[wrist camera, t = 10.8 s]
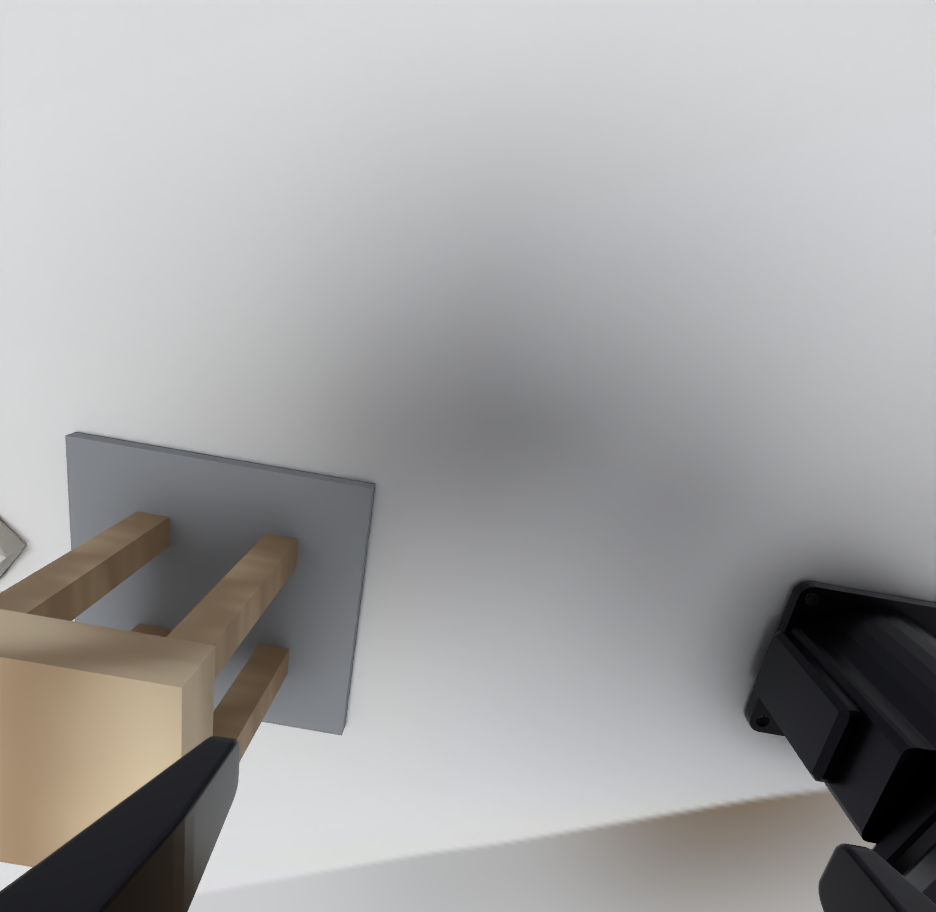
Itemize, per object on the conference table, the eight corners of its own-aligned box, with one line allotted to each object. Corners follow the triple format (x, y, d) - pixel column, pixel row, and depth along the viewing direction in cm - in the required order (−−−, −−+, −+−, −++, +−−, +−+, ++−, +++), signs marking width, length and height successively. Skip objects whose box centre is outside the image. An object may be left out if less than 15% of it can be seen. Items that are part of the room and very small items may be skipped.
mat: (375, 484, 19) (372, 488, 19) (345, 725, 23) (341, 735, 22) (76, 432, 19) (65, 435, 19) (87, 681, 22) (78, 690, 22)
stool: (304, 535, 20) (181, 687, 12) (291, 679, 21) (179, 891, 14) (131, 505, 20) (-103, 639, 12) (134, 652, 21) (-67, 850, 14)
